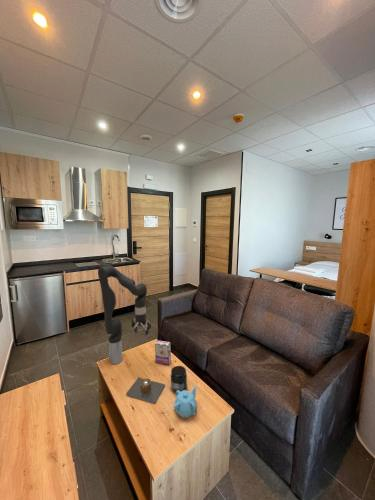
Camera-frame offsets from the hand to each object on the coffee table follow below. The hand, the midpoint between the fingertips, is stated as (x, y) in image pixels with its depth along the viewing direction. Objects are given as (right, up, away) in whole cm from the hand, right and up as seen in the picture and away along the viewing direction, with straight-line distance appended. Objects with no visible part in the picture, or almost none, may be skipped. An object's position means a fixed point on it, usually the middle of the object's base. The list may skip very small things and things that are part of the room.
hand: (141, 333), depth 150 cm
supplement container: (+27, -30, -13) cm, 43 cm away
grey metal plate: (+6, -30, -16) cm, 35 cm away
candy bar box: (+14, -27, +11) cm, 32 cm away
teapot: (+32, -32, -30) cm, 54 cm away
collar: (+6, -29, -16) cm, 34 cm away
